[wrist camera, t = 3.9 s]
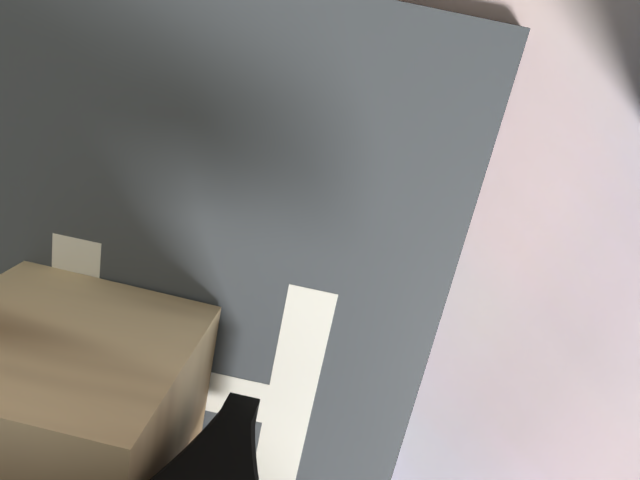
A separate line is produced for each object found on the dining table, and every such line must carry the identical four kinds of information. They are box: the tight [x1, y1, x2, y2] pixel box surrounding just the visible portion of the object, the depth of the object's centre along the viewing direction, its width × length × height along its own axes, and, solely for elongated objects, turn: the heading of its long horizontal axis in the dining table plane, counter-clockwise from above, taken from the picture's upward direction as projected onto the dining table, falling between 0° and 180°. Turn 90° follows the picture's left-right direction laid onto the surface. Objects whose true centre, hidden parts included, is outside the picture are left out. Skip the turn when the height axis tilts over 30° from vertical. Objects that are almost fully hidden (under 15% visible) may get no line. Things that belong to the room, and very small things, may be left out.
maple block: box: [0, 261, 221, 480], centre depth 12 cm, size 5×5×5 cm
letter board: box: [0, 0, 530, 480], centre depth 14 cm, size 18×18×1 cm
